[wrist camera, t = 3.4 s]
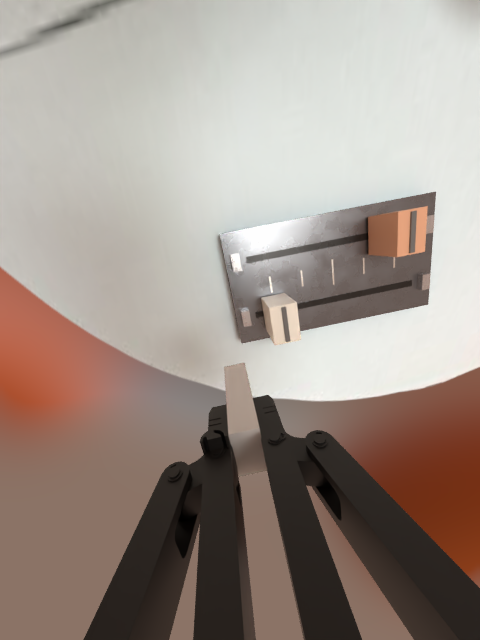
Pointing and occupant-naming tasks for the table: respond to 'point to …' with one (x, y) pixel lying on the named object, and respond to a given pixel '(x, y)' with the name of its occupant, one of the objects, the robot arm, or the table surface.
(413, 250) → the fader terracotta
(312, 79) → the table surface
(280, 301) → the fader cream
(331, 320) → the console
